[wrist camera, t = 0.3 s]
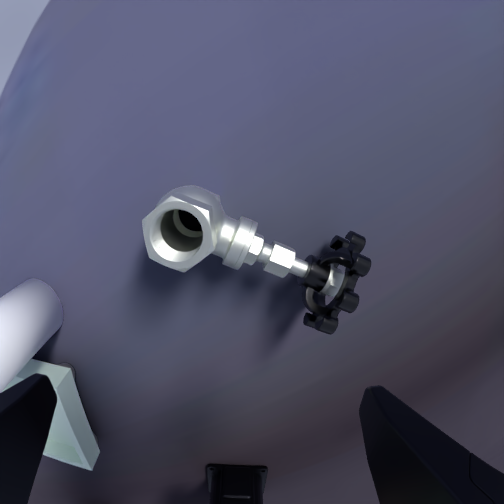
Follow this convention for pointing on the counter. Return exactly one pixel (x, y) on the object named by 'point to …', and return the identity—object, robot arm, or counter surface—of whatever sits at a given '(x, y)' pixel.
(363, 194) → the counter surface
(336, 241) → the valve
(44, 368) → the shallow mint tray
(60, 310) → the bottle
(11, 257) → the counter surface
